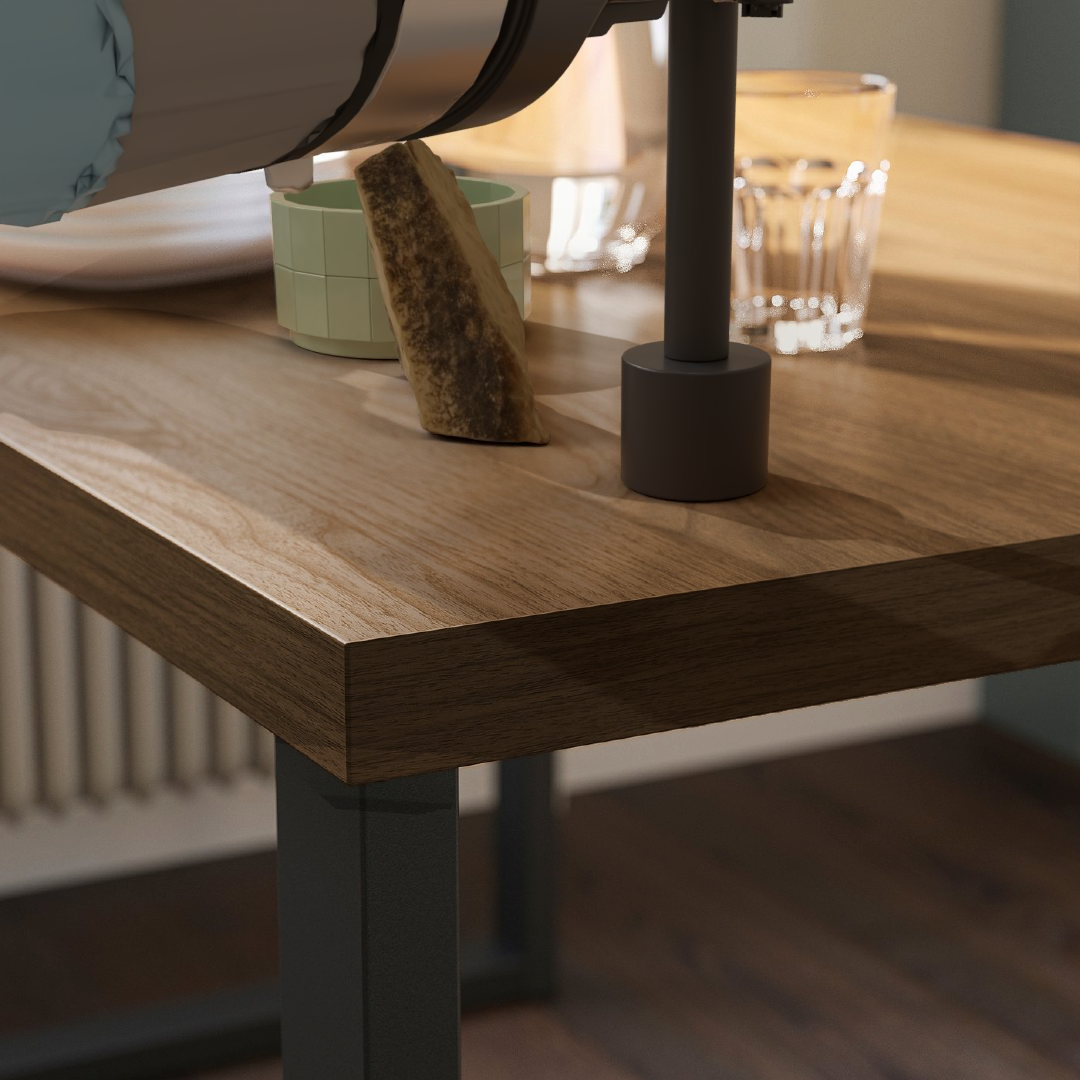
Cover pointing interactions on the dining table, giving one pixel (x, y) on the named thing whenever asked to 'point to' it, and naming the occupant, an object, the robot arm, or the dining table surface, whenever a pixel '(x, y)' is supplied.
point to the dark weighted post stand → (697, 293)
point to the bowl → (371, 262)
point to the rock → (446, 300)
